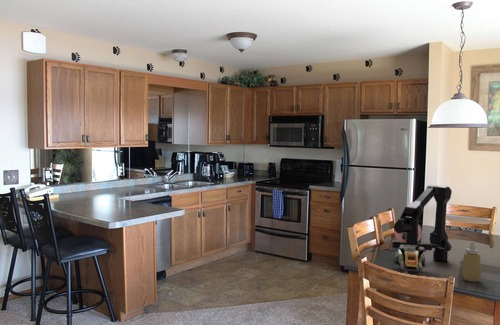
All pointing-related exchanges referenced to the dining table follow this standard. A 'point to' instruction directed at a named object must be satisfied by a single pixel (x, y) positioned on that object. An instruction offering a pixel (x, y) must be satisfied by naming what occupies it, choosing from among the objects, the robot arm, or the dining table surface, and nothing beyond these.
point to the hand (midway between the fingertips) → (411, 261)
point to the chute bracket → (411, 267)
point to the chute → (411, 262)
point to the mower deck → (410, 257)
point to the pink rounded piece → (399, 235)
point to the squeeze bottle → (471, 264)
